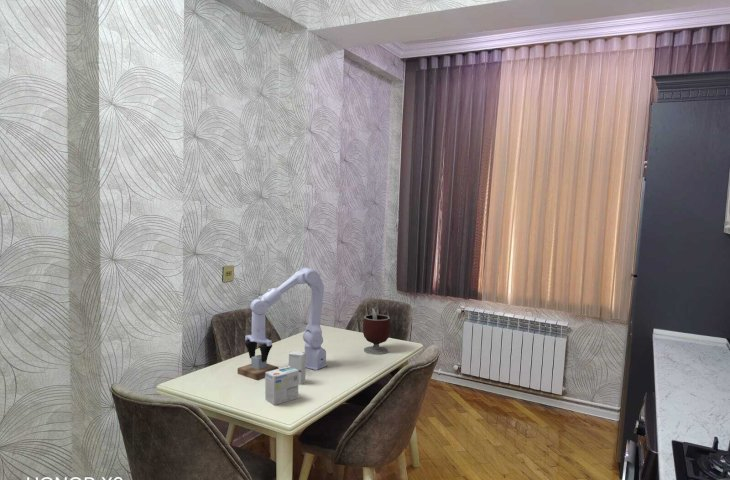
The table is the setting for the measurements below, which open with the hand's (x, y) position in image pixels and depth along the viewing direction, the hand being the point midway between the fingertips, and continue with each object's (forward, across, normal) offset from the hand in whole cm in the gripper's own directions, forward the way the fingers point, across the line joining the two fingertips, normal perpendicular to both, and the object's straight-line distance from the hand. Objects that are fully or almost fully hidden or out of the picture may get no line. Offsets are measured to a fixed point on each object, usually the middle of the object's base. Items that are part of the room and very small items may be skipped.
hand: (258, 359), depth 202 cm
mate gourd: (+6, +19, +60) cm, 63 cm away
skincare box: (+6, +20, +3) cm, 21 cm away
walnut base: (+6, 0, 0) cm, 6 cm away
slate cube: (+3, 0, 0) cm, 4 cm away
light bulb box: (+6, +28, -13) cm, 31 cm away
